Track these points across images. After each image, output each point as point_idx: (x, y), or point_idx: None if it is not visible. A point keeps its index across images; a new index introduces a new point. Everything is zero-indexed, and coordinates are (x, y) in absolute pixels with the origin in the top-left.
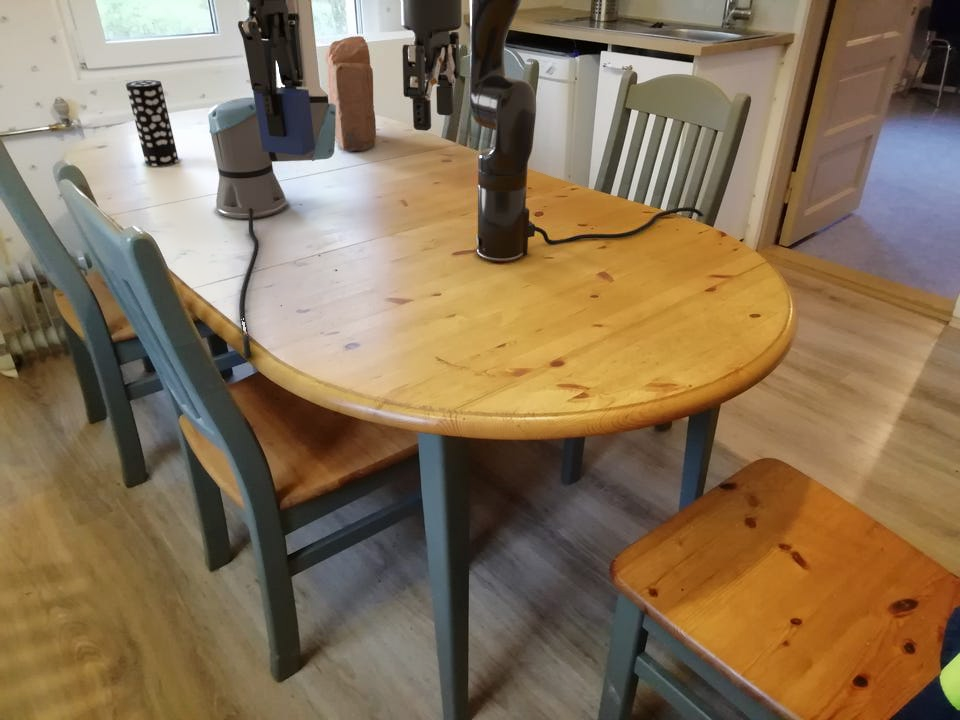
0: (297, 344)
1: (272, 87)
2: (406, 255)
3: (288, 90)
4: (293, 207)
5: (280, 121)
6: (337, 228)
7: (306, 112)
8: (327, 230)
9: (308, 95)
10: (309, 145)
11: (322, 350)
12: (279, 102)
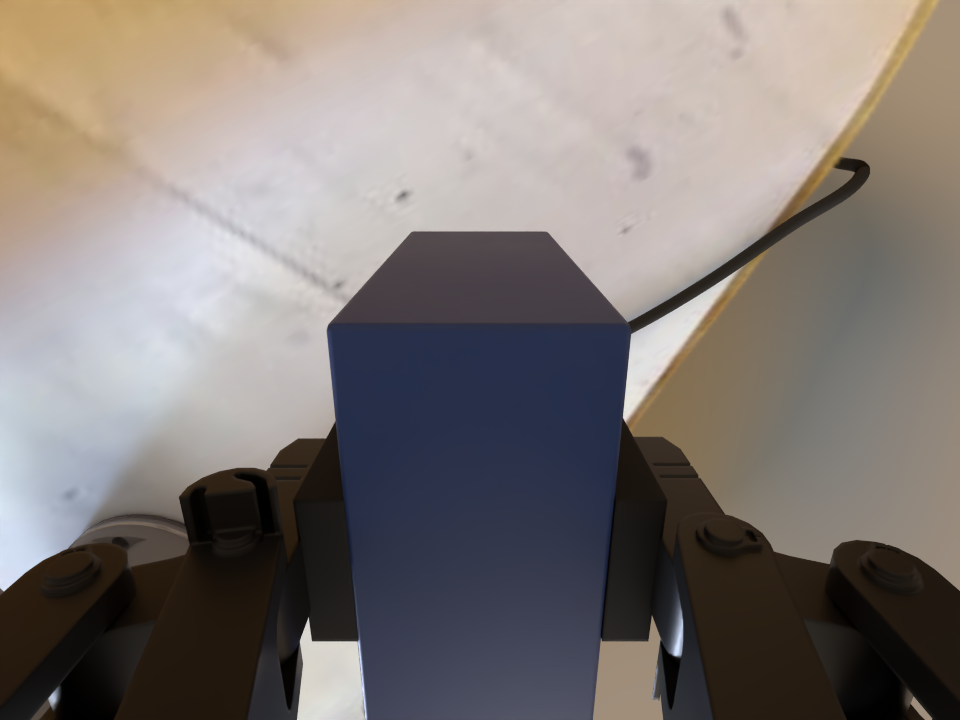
0: (798, 87)
1: (773, 566)
2: (227, 32)
3: (454, 500)
4: (96, 502)
5: None
6: (157, 327)
7: (450, 275)
8: (183, 346)
9: (357, 307)
10: (472, 236)
11: (818, 7)
12: (640, 457)
